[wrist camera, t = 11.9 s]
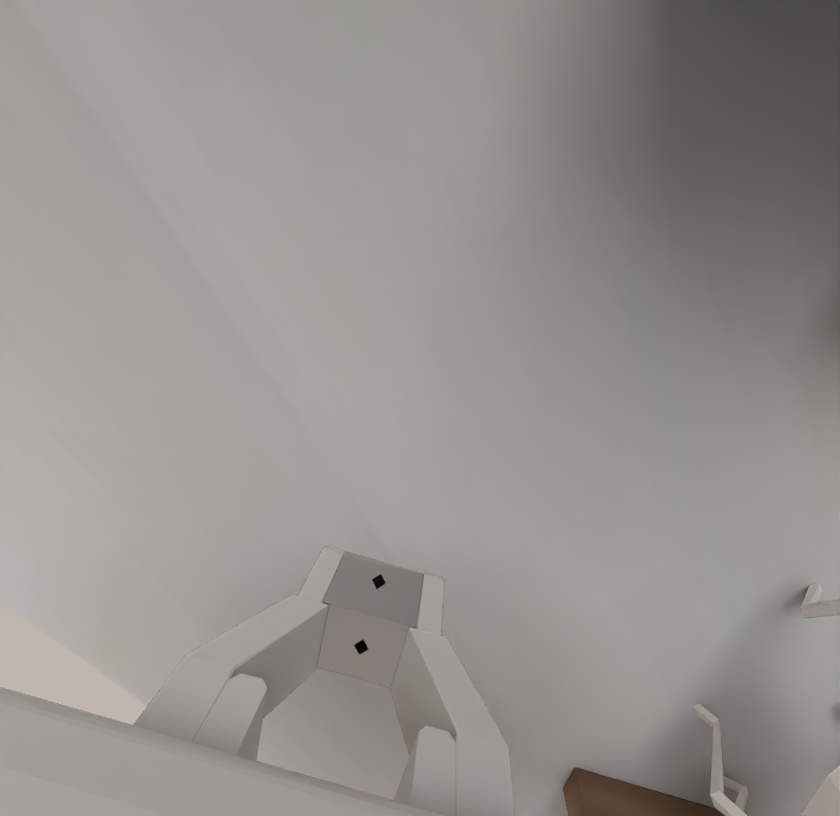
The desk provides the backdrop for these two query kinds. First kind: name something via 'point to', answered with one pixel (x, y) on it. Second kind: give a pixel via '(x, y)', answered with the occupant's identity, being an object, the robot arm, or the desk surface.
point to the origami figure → (827, 810)
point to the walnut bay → (623, 799)
